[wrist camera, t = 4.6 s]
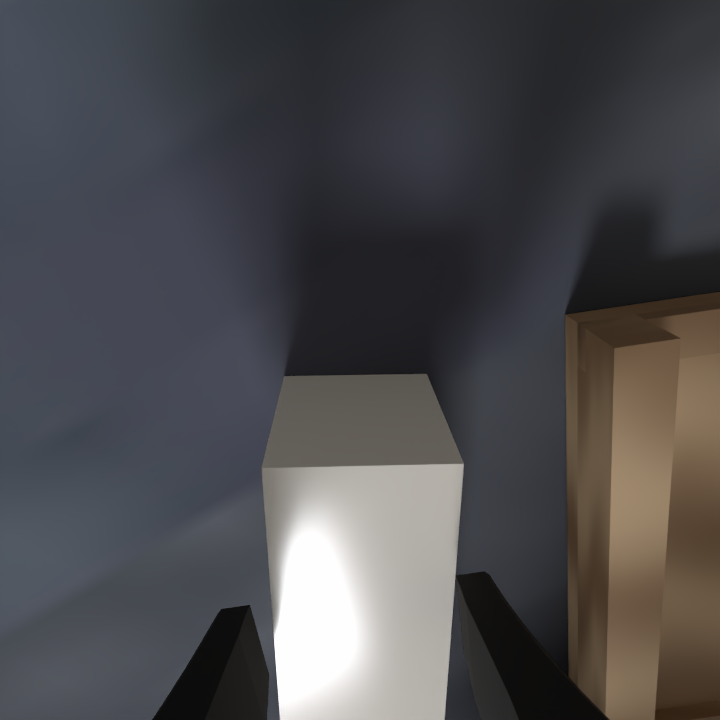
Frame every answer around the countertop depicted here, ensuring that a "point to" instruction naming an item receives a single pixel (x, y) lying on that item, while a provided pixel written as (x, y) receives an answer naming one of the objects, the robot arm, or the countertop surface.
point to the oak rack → (645, 507)
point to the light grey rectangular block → (361, 546)
